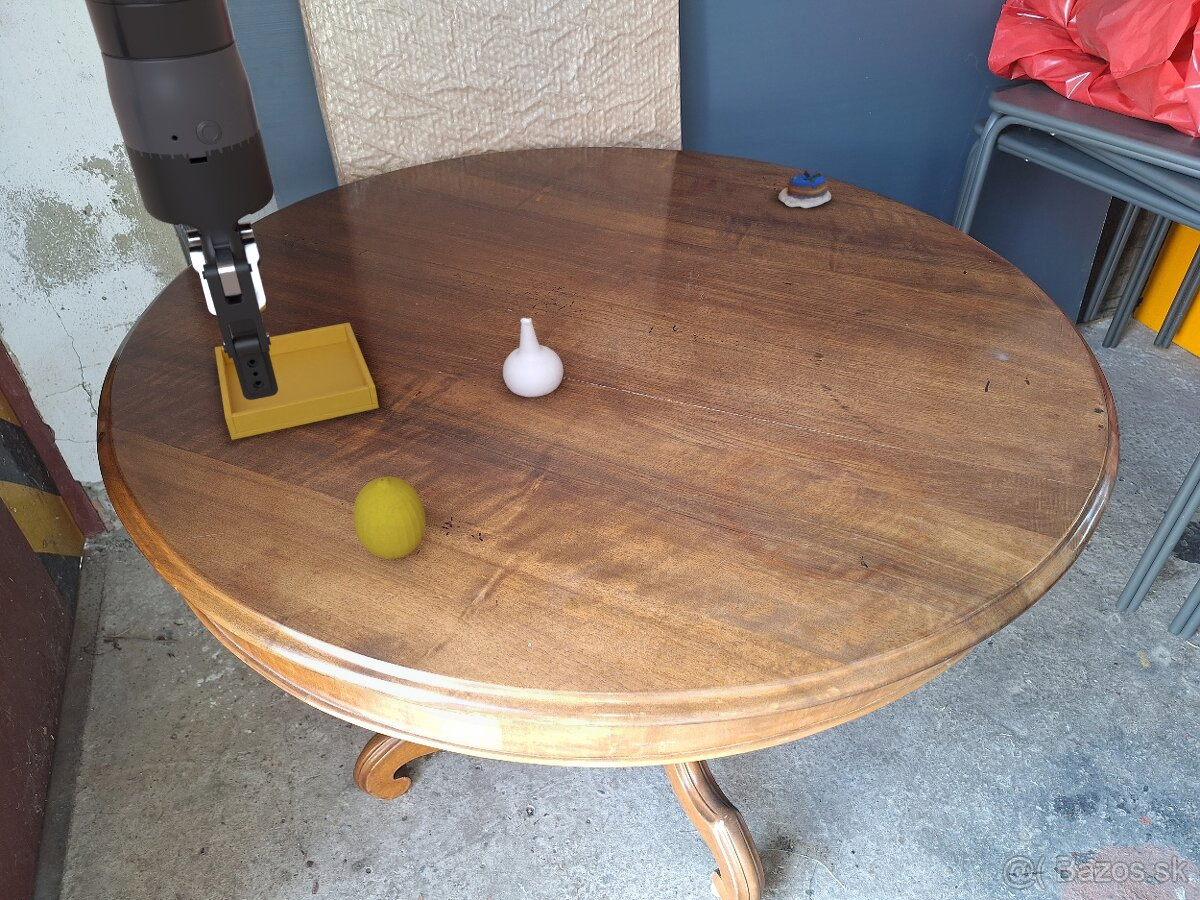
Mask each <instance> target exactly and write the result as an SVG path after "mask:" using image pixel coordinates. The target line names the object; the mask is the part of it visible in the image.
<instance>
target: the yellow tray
mask: <svg viewBox="0 0 1200 900" xmlns="http://www.w3.org/2000/svg"><path fill="white" fill-rule="evenodd" d="M354 333H355V332H354V331H353V328H352V326H351V323H350V322H344V323H339V324H333V325H328V326H323V327H318V328H312V329H307V330H302V331H301V330H300V331H295V332H290V333H284V334H280V335H275V336H269V338H270V342H271V345H269V348H270V351H269V354H270V358H271V362H272V366H273V370H274V374H275V378H276V381H277V386H278V392H277V393H276V394H275V395H273V396H269V397H264V398H259V399H254V400H248V399H246V398H245V397H244V396H243V393H242V389H241V386H240V382H239V379H238V375H237V372H236V368H235V365H234V361H233V358H230V359H229V357H228V354H227V353H225V352H224V349H223V345H221V346H215V347H214V353H215V360H216V367H217V372H218V380H219V385H220V386H219V387H220V393H221V400H222V405H223V406H222V407H223V412H224V419H225V422H226V425H227V428H228V433H229V436H230V438H231V440H232V441H233V440H238V439H242V438H243V439H244V438H247V437H248V438H249V437H252V436H257V435H261V434H266V433H270V432H276V431H279V430H284V429H289V428H293V427H298V426H303V425H307V424H312V423H317V422H321V421H324V420H330V419H334V418H339V417H343V416H348V415H352V414H358V413H362V412H363V413H364V412H366V411H372V410H375V409H379V408H380V405H379V401H378V395H377V389H376V385H375V382H374V380H373V377H372V376H371V373H370V370H369V367H368V365H367V362H366V360H365V358H364V355H363V353H362V351H361V348H360V345H359V342H358V341H357V337H356V336H355V334H354Z"/></svg>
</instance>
